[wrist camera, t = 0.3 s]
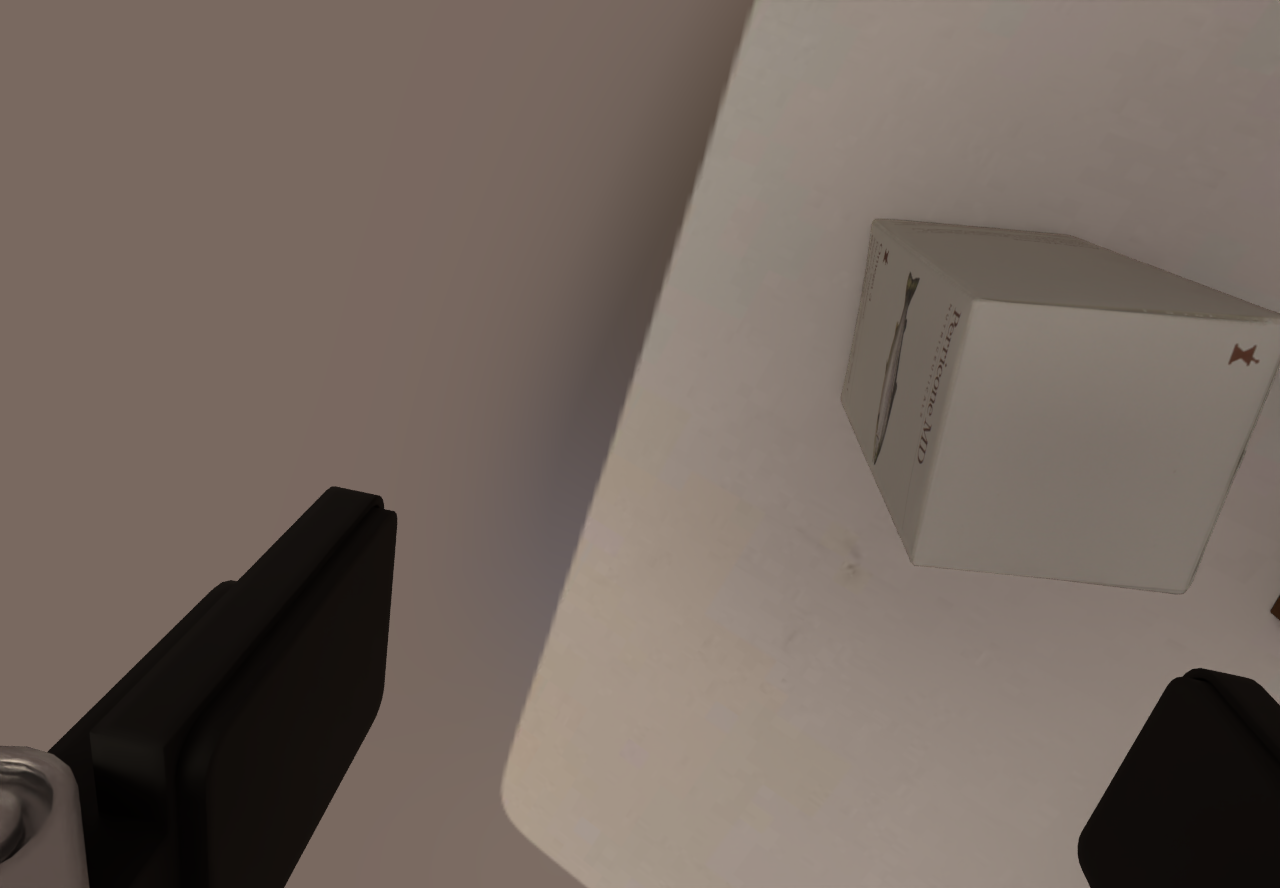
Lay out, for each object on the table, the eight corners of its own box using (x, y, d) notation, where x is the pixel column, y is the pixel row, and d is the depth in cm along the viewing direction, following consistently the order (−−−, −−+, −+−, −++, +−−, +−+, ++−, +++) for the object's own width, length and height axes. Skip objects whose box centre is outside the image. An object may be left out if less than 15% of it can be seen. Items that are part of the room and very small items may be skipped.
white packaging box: (868, 213, 29) (974, 285, 18) (1074, 232, 29) (1319, 318, 17) (832, 402, 32) (904, 570, 21) (1019, 421, 32) (1198, 602, 20)
